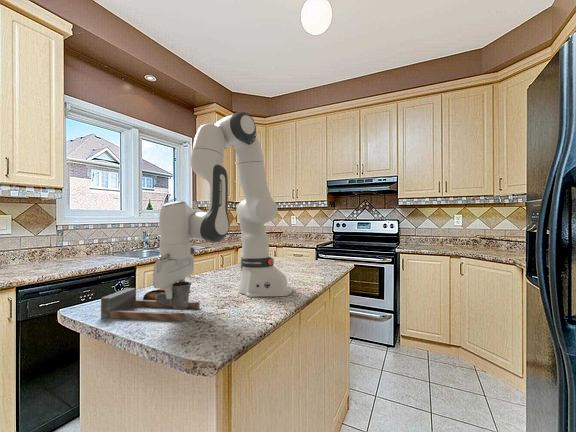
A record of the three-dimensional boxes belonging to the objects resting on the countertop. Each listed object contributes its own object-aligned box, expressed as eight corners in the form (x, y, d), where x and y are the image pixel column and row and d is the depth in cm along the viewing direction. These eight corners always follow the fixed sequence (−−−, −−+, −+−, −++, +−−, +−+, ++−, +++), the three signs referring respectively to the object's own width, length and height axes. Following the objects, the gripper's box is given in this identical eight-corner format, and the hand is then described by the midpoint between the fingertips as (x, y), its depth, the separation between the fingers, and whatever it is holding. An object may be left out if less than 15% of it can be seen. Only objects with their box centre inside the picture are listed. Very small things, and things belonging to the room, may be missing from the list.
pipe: (165, 303, 97) (165, 279, 97) (196, 307, 93) (196, 282, 93) (151, 308, 92) (151, 283, 92) (183, 312, 87) (183, 286, 87)
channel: (199, 307, 97) (199, 290, 97) (182, 321, 85) (182, 300, 85) (127, 305, 100) (127, 287, 100) (100, 317, 88) (101, 298, 88)
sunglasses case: (162, 304, 100) (154, 287, 101) (148, 313, 102) (140, 296, 103) (192, 291, 118) (185, 277, 119) (179, 299, 119) (172, 284, 120)
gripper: (167, 257, 81) (168, 305, 81) (197, 248, 101) (197, 287, 101) (146, 256, 82) (146, 305, 82) (180, 248, 102) (180, 286, 102)
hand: (175, 295), depth 92 cm, fingers closed on pipe, 5 cm apart
